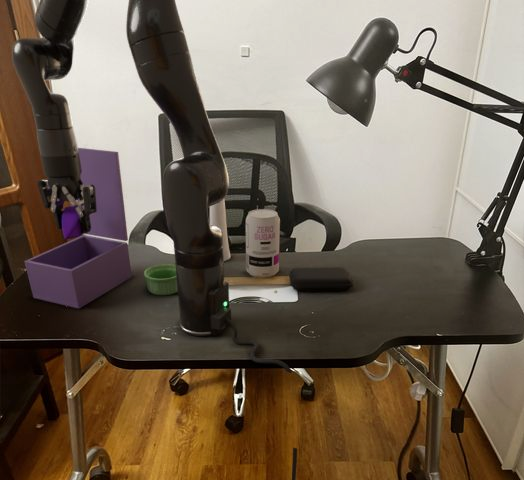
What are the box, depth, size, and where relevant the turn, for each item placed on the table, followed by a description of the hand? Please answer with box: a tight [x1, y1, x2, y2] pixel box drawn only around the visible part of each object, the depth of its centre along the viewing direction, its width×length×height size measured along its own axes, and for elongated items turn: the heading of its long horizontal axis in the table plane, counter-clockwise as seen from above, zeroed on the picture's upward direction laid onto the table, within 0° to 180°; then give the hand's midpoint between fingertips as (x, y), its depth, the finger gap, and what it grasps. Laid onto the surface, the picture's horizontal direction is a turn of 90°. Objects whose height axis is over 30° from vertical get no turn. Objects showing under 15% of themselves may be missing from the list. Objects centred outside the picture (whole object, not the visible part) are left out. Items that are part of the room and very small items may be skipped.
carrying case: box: [288, 266, 354, 292], centre depth 124 cm, size 11×3×15 cm
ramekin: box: [143, 263, 178, 296], centre depth 121 cm, size 9×9×4 cm
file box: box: [24, 234, 133, 310], centre depth 120 cm, size 19×13×9 cm
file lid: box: [76, 147, 129, 242], centre depth 122 cm, size 20×13×5 cm
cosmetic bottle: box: [209, 198, 231, 262], centre depth 133 cm, size 6×6×22 cm
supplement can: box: [245, 208, 281, 279], centre depth 127 cm, size 8×8×15 cm
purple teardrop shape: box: [61, 205, 84, 240], centre depth 114 cm, size 5×5×15 cm
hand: (74, 229), depth 115 cm, fingers closed on purple teardrop shape, 6 cm apart
